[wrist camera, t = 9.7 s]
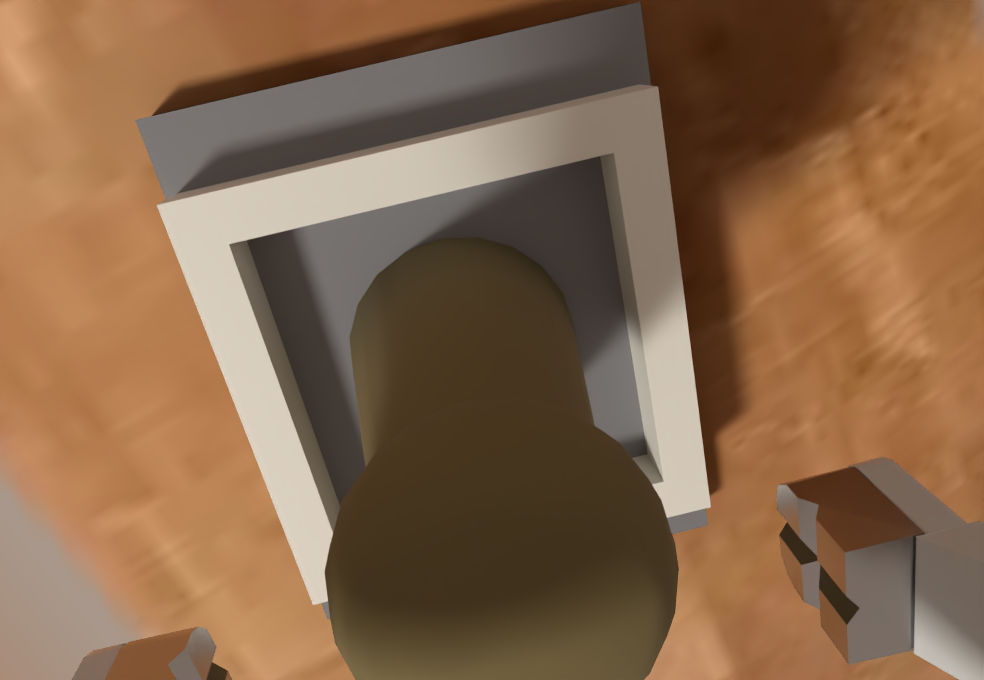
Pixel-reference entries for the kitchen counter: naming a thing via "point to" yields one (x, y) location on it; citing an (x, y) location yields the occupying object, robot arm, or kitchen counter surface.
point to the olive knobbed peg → (489, 488)
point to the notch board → (427, 218)
